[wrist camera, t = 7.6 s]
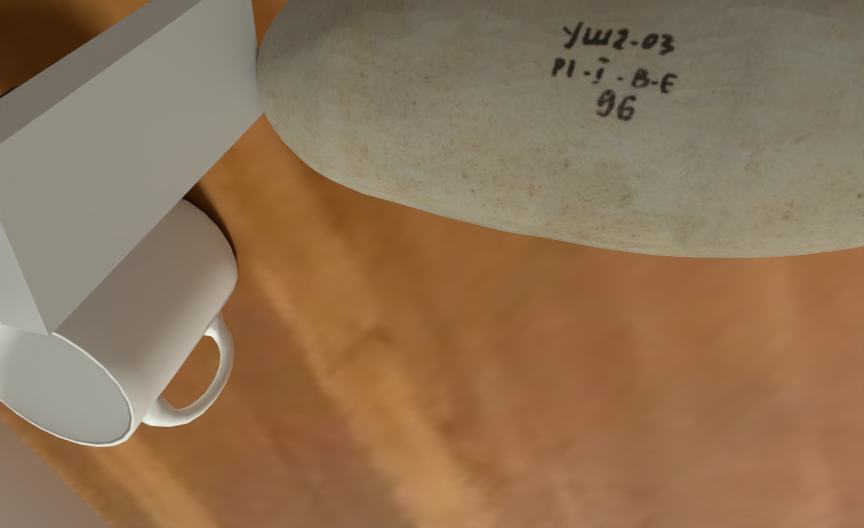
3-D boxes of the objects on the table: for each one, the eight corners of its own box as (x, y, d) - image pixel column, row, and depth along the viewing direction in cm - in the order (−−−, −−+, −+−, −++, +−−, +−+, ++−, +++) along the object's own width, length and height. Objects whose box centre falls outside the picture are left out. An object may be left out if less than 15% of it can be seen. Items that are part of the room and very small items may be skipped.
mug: (117, 150, 44) (-31, 281, 35) (301, 261, 45) (202, 414, 37) (88, 250, 50) (-43, 383, 42) (251, 345, 52) (157, 492, 43)
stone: (185, -74, 13) (1120, -245, 6) (413, -64, 18) (1089, -156, 11) (234, 252, 15) (999, 403, 8) (430, 182, 20) (1017, 239, 13)
